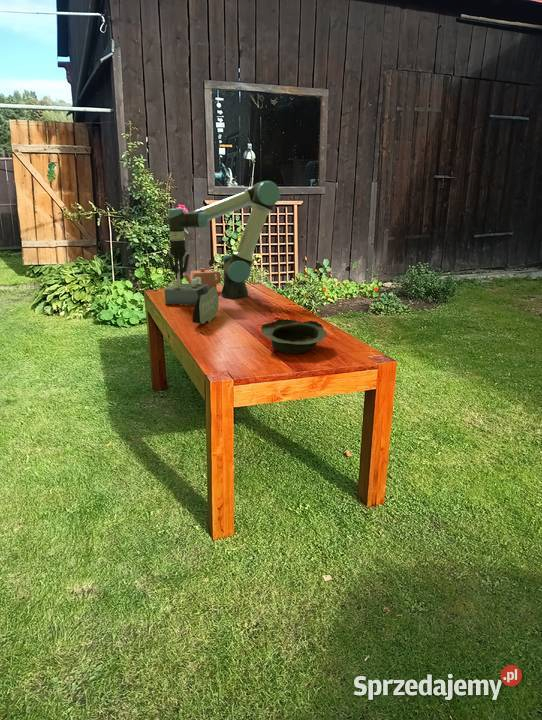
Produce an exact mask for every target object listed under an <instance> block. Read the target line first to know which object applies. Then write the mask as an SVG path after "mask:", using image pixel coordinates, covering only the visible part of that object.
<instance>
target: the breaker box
mask: <svg viewBox="0 0 542 720" xmlns="http://www.w3.org/2000/svg"><path fill="white" fill-rule="evenodd" d="M163 290H164V302H165V303H164V304H165V305H166V304H187V305H186V306H191V305H196V302H197V300H198V298H199V296H200V295H204V294H205V293H206V292H207V290H209V284H201V277H196V278H194V279H192V280H191V284H189V283H186V282H185V283H183V282H182V286H180V288H173V285H171V286H169V287H167V288H165V289H163Z"/></svg>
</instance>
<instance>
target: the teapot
mask: <svg viewBox="0 0 542 720" xmlns="http://www.w3.org/2000/svg"><path fill="white" fill-rule="evenodd" d="M183 277H184V279H185V280H186V281H187V284H191V280H192V279H194V278H196V277H201V284H209V290H210V289H211V288H212V287H215V288H217V284H219V283H221V282H222V277H221V272H220V271H213V270H212V269H206V268H205V267H200V268H199V270H191V271H190V277H189V276H188V275H187V273H183Z"/></svg>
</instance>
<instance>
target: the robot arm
mask: <svg viewBox="0 0 542 720" xmlns="http://www.w3.org/2000/svg"><path fill="white" fill-rule="evenodd" d="M280 191H281V190H280V188H279V186H278V185H277V184H276V183H275V182H273V181H271V180H263V181H262V180H261V181H259V182H257V183H255V184H253V185H252V186H249V187H247V188H245V189H244V190H243V192H240V193H237V194H234V195H232V196H229V197H227V198H224V199H221V200H218V201H216V202H213V203H210V204H208V205H206V206H201V207H200V208H198V209H197V208H196V209H195V210H191V211H189V212H185V211H184V209H183V208H170V209H168V228H169V240H170V241H169V243H170V244H169V245H170V250H169V252H167V253H165V257H167V259H168V263H169V266H170V269H171V272H172V273H174V276H175V280H177V281H178V286H182V283H183V280H184V279H185V277H184V276H183V275H184V274H185V272H187V271H188V266H189V265H188V264H189V260H190V259H189V258H190V257H191V253H189V252H187V250H186V240H185V239H186V238H185V235H186V234H185V228H187V229H188V228H197V229H198V228H200V229H202V228H207V227H208V222H209V221H211V220H214V219H217V218H220V217H222V216H225V215H228V214H229V213H230V214H231V213H232V212H235V211H238V210H241V209H244V208H246V207H248V206H249V207H252V208H251V210H250V211H251V212H250V214H249V216H248V219H247V222H246V225H245V227H244V230H243V231H242V236H241V238H240V241H239V244H238V246H237V250H236V251H234V252H232V254H229V255H224V256H223V261H222V262H223V281H224V282H223V286H222V289H221V297H222V298H224V299H243V298H247V297H249V290H248V288H247V285H246V281H247V280H248V279H249V277H250V276H251V273H252V272H251V268H252V266H253V263H254V259H253V255H254V251H255V250H256V246H257V244H258V242H259V239H260V236H261V233H262V230H263V228H264V225H265V223H266V220H267V217H268V216H269V215H268V214H270V213H272V212H273V209H274V208H275V205H276V203H277V202H278V201H279V199H280V197H281V196H280V195H281V193H280Z"/></svg>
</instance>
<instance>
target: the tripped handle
mask: <svg viewBox="0 0 542 720" xmlns="http://www.w3.org/2000/svg"><path fill="white" fill-rule="evenodd" d="M172 286H173V288H180V286H178V281H177V279H174V280H173V281H172Z"/></svg>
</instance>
